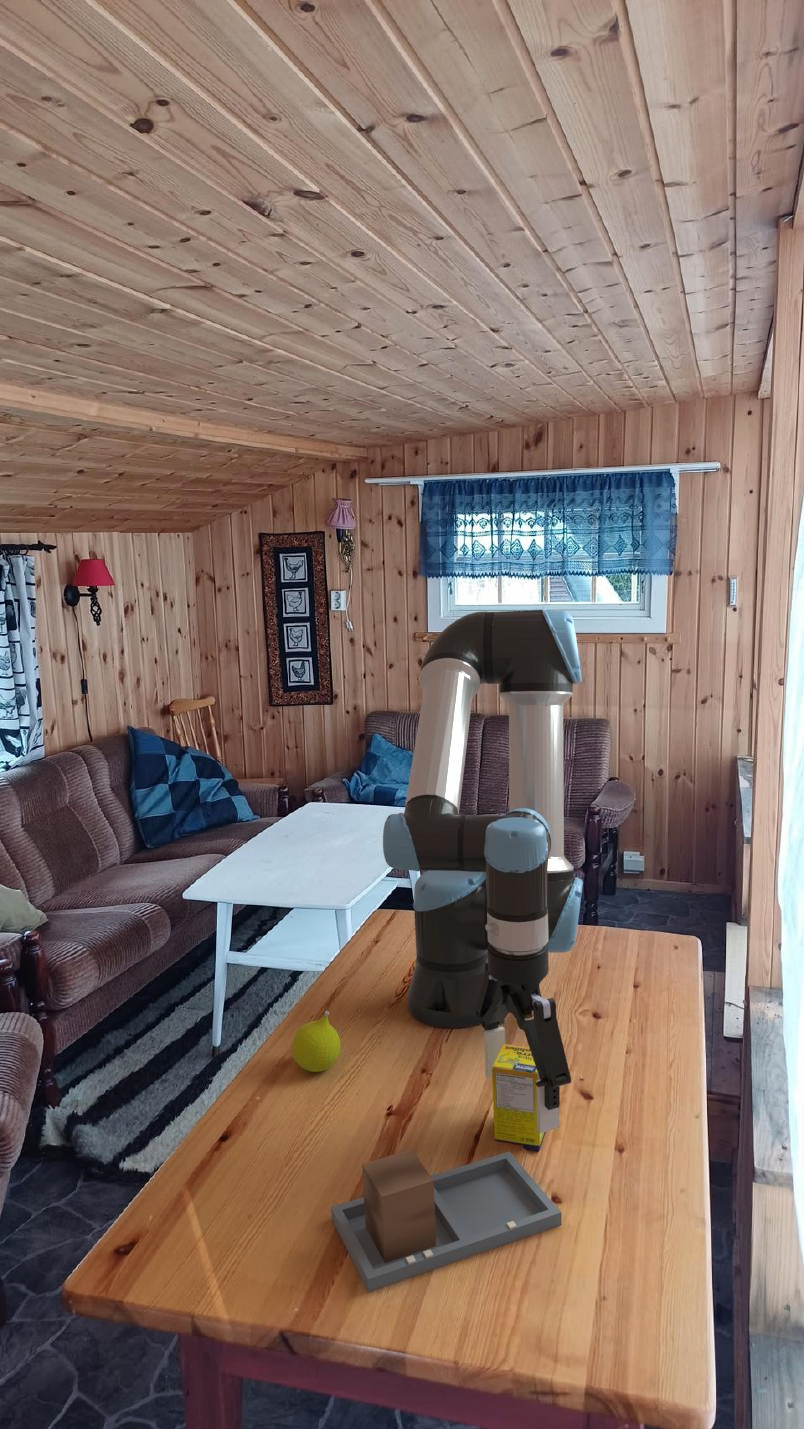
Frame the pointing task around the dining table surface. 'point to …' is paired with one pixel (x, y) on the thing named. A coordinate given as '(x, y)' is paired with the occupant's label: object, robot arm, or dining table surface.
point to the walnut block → (399, 1205)
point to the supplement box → (516, 1098)
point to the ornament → (316, 1045)
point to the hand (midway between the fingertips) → (520, 1100)
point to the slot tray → (456, 1219)
